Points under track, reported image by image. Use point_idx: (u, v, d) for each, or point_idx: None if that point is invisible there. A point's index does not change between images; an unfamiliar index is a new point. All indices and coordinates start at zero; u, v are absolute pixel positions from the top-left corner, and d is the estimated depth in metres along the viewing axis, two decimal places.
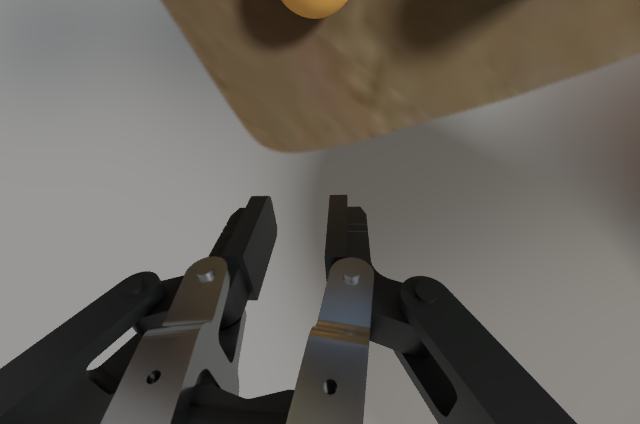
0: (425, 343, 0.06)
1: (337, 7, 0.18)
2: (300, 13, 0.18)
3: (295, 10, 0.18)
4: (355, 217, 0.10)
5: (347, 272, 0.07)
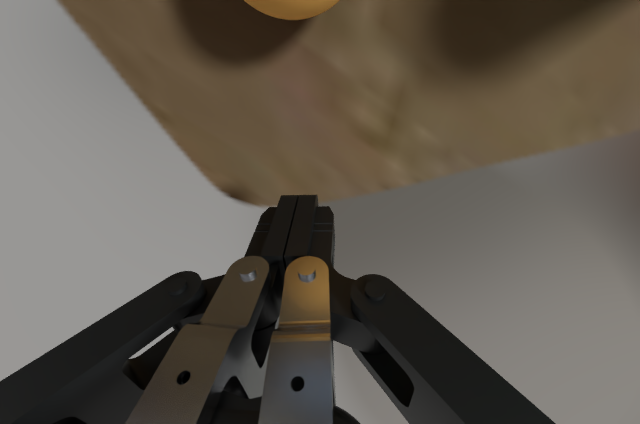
0: (379, 340, 0.06)
1: None
2: (265, 10, 0.10)
3: (255, 5, 0.10)
4: (322, 217, 0.10)
5: (302, 271, 0.07)
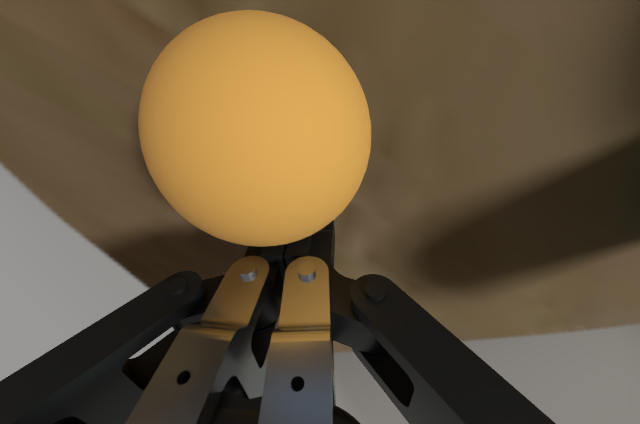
0: (379, 340, 0.06)
1: (302, 188, 0.06)
2: (182, 193, 0.06)
3: (169, 183, 0.06)
4: None
5: (302, 271, 0.07)
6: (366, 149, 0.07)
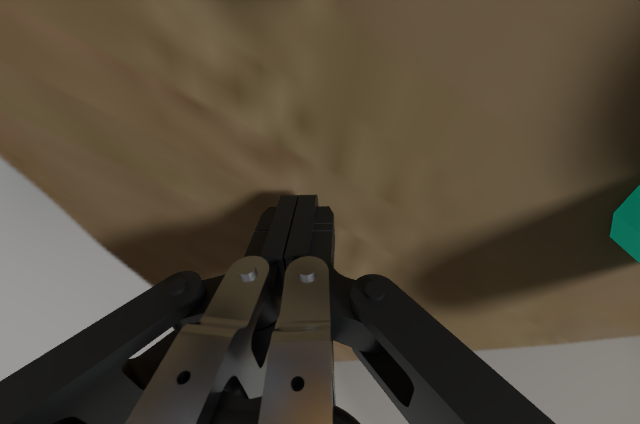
0: (379, 340, 0.06)
1: None
2: None
3: None
4: (322, 217, 0.10)
5: (302, 271, 0.07)
6: None
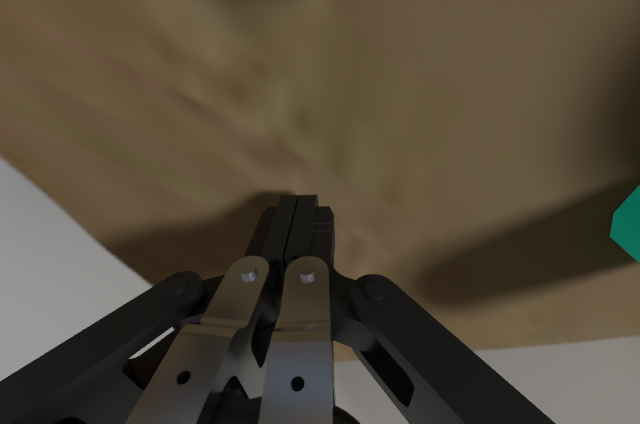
0: (379, 340, 0.06)
1: None
2: None
3: None
4: (322, 217, 0.10)
5: (302, 271, 0.07)
6: None
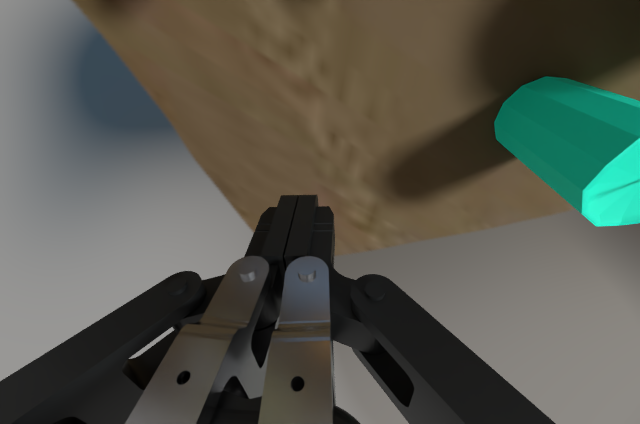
0: (379, 340, 0.06)
1: None
2: None
3: None
4: (322, 217, 0.10)
5: (302, 271, 0.07)
6: None
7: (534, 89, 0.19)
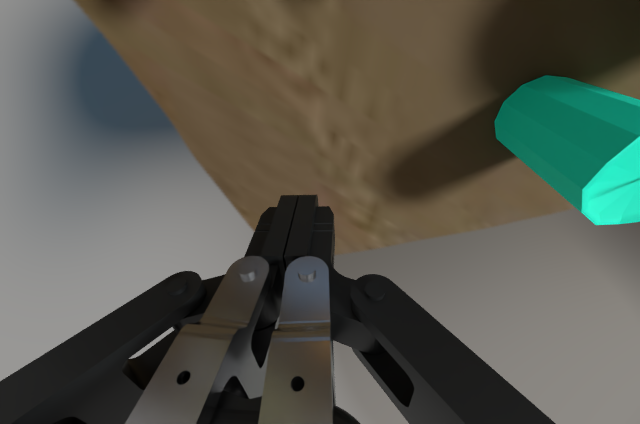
0: (379, 340, 0.06)
1: None
2: None
3: None
4: (322, 217, 0.10)
5: (302, 271, 0.07)
6: None
7: (534, 88, 0.19)
